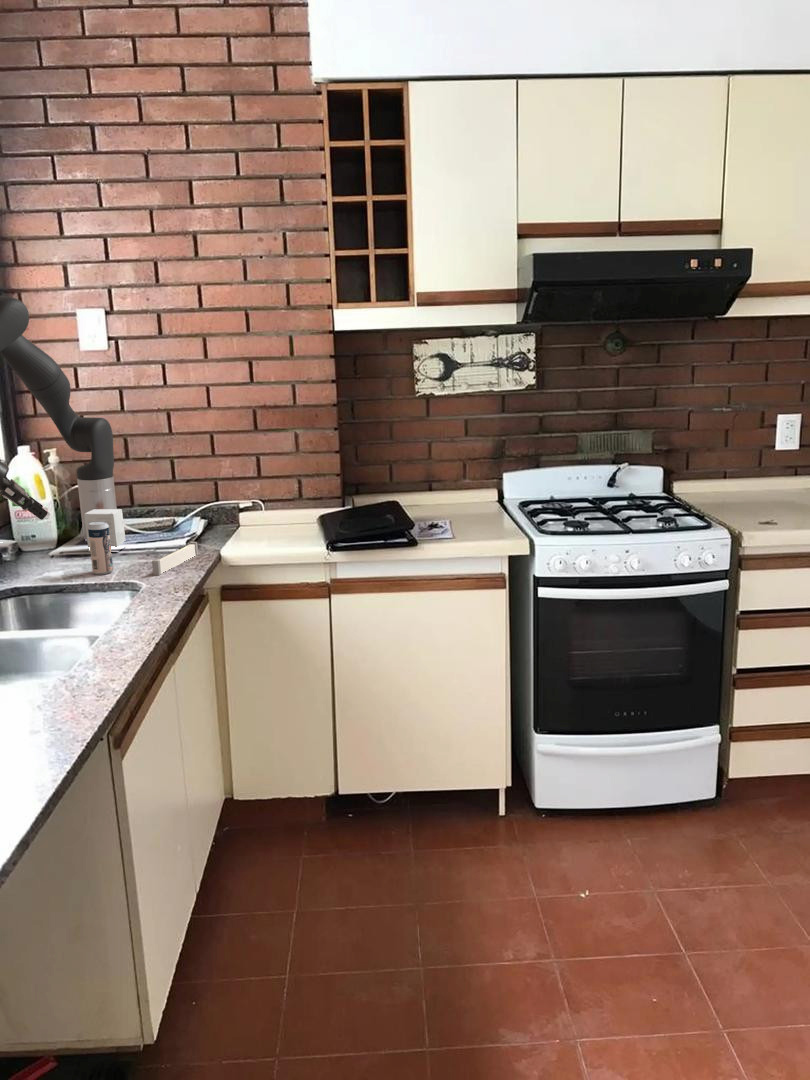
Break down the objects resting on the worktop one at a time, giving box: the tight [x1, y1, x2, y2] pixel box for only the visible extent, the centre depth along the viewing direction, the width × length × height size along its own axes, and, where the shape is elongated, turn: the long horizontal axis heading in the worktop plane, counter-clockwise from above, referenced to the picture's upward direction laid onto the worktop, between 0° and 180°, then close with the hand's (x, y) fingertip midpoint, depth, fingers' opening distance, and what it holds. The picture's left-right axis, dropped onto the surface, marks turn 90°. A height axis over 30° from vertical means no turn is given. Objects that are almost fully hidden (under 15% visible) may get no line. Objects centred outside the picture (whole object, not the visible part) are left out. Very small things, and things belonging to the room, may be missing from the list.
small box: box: [84, 508, 127, 548], centre depth 220 cm, size 8×6×10 cm
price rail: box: [151, 541, 199, 576], centre depth 206 cm, size 18×2×3 cm, turn 165°
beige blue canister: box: [88, 521, 114, 576], centre depth 199 cm, size 5×5×12 cm
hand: (42, 513), depth 192 cm, fingers open, 8 cm apart
